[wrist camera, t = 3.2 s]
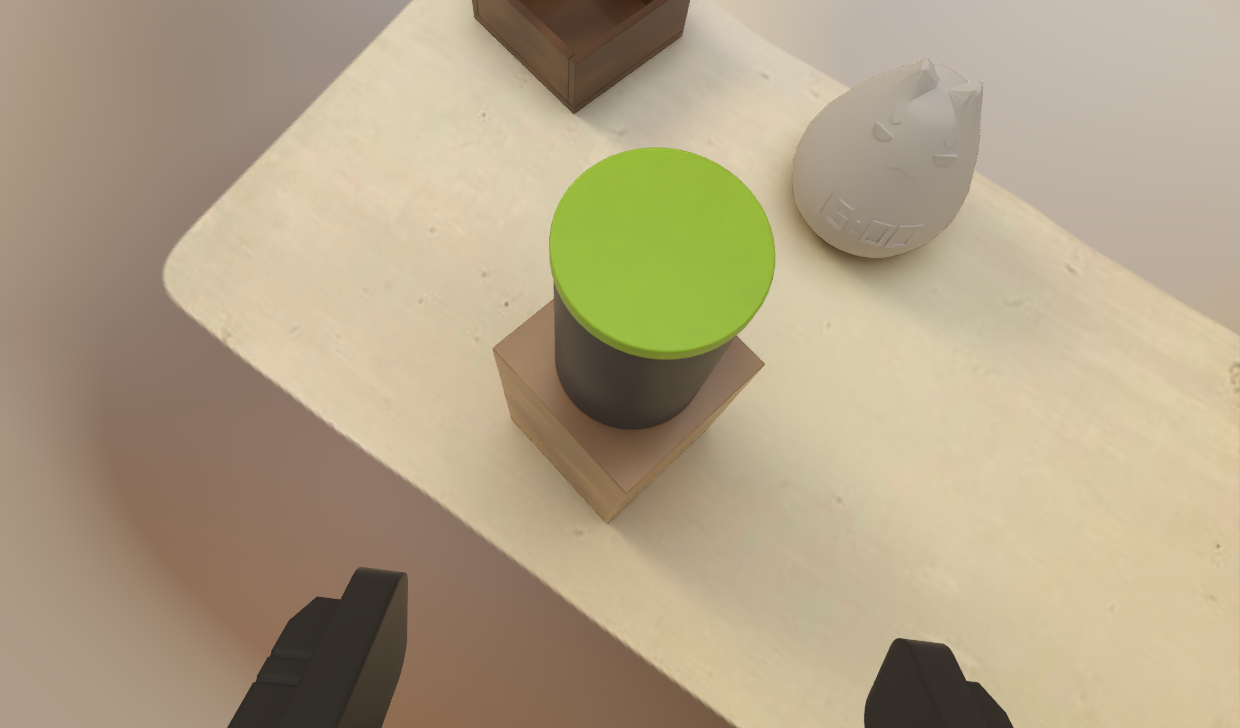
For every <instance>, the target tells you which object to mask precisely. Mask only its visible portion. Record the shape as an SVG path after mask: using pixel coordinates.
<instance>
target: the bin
mask: <svg viewBox="0 0 1240 728" xmlns="http://www.w3.org/2000/svg"><path fill="white" fill-rule="evenodd" d="M689 3H690V0H472V4H473V10H474V17H475V18H476V19H477V20H478V21H479V22H480V23H481V24H482V25H483V26H484V27H485V28H486V29H487V30H488V31H489V32H490V33H491V34H492V35H493V36H494V37H495V38H496V39H497V40H498V41H500V42H501V43H502V44H503V45H504V46H505V47H506V48H507V49H508V50H509V51H510V52H511V53H512V54H513V55H514V56H515V57H516V58H517V59H518V60H519V61H520V62H521V63H522V64H523V65H524V66H525V67H526V68H527V69H528V70H529V71H530V72H531V73H533V74H534V75H535V76H536V77H537V78H538V79H539V80H540V81H541V82H542V83H543V84H544V85H545V86H546V87H547V88H548V89H549V90H550V91H551V92H552V93H553V94H554V95H555V96H556V97H557V98H558V99H559V100H560V101H561V102H562V103H563V104H564V105H566V106H567V107H568V108H569V109H570V110H571V111H572V112H573V113H575V112H577V111H578V110H580V109H581V108H582V107H584V106H585V105H587V104H588V103H589V102H591V101H592V100H594V99H595V98H596V97H598V96H599V95H600V94H602V93H603V92H605V91H606V90H607V89H609V88H610V87H612V86H613V85H614V84H616V83H617V82H618V81H620V80H621V79H623V78H624V77H625V76H627V75H628V74H630V73H631V72H632V71H634V70H635V69H636V68H638V67H639V66H641V65H642V64H643V63H645V62H646V61H648V60H649V59H650V58H652V57H653V56H655V55H656V54H657V53H659V52H660V51H661V50H663V49H664V48H666V47H667V46H668V45H670V44H671V43H673V42H674V41H675V40H677V39H678V38H679V37H681V36H682V34H683V29H684V25H685V21H686V16H687V12H688V7H689Z"/></svg>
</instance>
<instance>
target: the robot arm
mask: <svg viewBox="0 0 1240 728" xmlns="http://www.w3.org/2000/svg"><path fill="white" fill-rule="evenodd" d="M407 599H408V577H407V574H406V573H404V572H396V571H388V570H380V569H373V568H364V567H359V568H358V569H357V570H356V571H355V573H354V574H353V576H352V578H351V580H350V582H349V584H348V586H347V588H346V590H345V592H344V594H343V596H342V598H341V600H340V599H332V598H324V597H316V598H315V599H314V600H313V601H311V602H310V603H309V604H308V605H307V606H306V607H304V608H303V609H302V610H301V611H300V612H299V613H297V614H296V615H295V616H294V617H293V618H291V619H290V620H289V622H288V623H287V625H286V627H285V629H284V630H283V632H282V633H281V635H280V637H279V639H278V640H277V642H276V644H275V646H274V647H273V649H272V651H271V655H270V657H268V658H267V659H266V661H265V663H264V665H263V666H262V668H261V670H260V672H259V674H258V675H257V680H256V682H255V683H253V684H252V686H251V687H250V689H249V691H248V693H247V694H246V696H245V698H244V700H243V701H242V703H241V705H240V706H239V708H238V710H237V712H236V713H235V715H234V717H233V719H232V720H231V722H230V724H229V726H228V728H381V727H382V724H383V722H384V719H385V716H386V713H387V711H388V708H389V705H390V702H391V699H392V697H393V694H394V691H395V688H396V685H397V683H398V680H399V677H400V673H401V670H402V666H403V661H404V656H405V651H406V643H407V602H408V600H407ZM864 724H865V728H1013V726H1012V724H1011V722H1010V720H1009V718H1008V716H1007V714H1006V712H1005V711H1004V710H1003V709H1002V708H1001V707H1000V706H999V705H998V704H997V702H996V701H995V700H994V699H993V698H992V697H991V696H990V695H989V694H988V692H987V691H986V690H985V689H984V688H983V687H982V686H981V685H980V684H979V683H978V682H970V681H966V679H965V677H964V675H963V673H962V671H961V669H960V667H959V665H958V663H957V661H956V659H955V656H954V655H953V653H952V651H951V650H950V648H949V647H948V646H946V645H945V644H940V643H933V642H925V641H917V640H909V639H902V638H898V639H896V640H894V641H893V643H892V644H891V646H890V648H889V651H888V653H887V655H886V657H885V659H884V662H883V664H882V666H881V668H880V671H879V673H878V675H877V677H876V680H875V682H874V684H873V686H872V688H871V691H870V693H869V695H868V698H867V701H866V705H865V713H864Z"/></svg>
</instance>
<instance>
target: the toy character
mask: <svg viewBox="0 0 1240 728" xmlns="http://www.w3.org/2000/svg"><path fill="white" fill-rule="evenodd" d="M982 95H983V82H981V81H969V82H968V81H967V80H966V79H965V78H964V77H963V76H962V75H961V74H959V73H958V72H956V71H955V70H953V69H951V68H949V67H947V66H944V65H941V64H935V63H932V62H931V61H930V60H929V59H926V58H925V59H923V60H921V61H919V62H917V63H915V64H911V65H905V66H901V67H898V68H896V69H893V70H890V71H887V72H885V73H882V74H879V75H877V76H875V77H873V78H871V79H868V80H866V81H864V82H863V83H861V84H859V85H858V86H856V87H855V88H853V89H851V90H850V91H848V92H846V93H845V94H843V95H841V96H840V97H838V98H837V99H835V100H834V101H832V102H830V103H829V104H828V105H827V106H826V107H825V108H824V109H823V110H822V111H821V112H820V113H819V114H818V115H817V116H816V117H815V118H814V119H813V120H812V121H811V122H810V124H809V125H808V127H807V129H806V130H805V132H804V134H803V136H802V138H801V140H800V142H799V144H798V147H797V150H796V153H795V156H794V160H793V178H792V186H793V193H794V199H795V201H796V204H797V207H798V209H799V211H800V213H801V215H802V216H803V218H804V220H805V221H806V223H807V224H808V225H809V226H810V227H811V228H812V230H813V231H814V232H815V233H816V234H817V235H818V236H820V237H821V238H822V239H823V240H825V241H826V242H827V243H829V244H830V245H832V246H834V247H836V248H838V249H840V250H841V251H844V252H847V253H850V254H853V255H856V256H861V257H868V258H886V257H891V256H895V255H900V254H903V253H906V252H909V251H912V250H914V249H916V248H918V247H921V246H923V245H925V244H926V243H928V242H929V241H930V240H932V239H933V238H934V237H936V236H937V235H938V234H939V233H941V232H942V231H943V230H944V229H945V228H946V227H947V226H948V225H949V224H950V223H951V221H952V220H953V219H954V218H955V217H956V215H957V213H958V211H959V210H960V208H961V206H962V204H963V202H964V200H965V198H966V196H967V194H968V192H969V188H970V184H971V180H972V176H973V172H974V168H975V164H976V160H977V155H978V149H979V140H980V120H981V107H982Z"/></svg>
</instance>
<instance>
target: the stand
mask: <svg viewBox="0 0 1240 728" xmlns="http://www.w3.org/2000/svg"><path fill="white" fill-rule="evenodd" d="M493 352H494V356H495V359H496V363H497V367H498V370H499V374H500V378H501V381H502V385H503V389H504V393H505V396H506V400H507V404H508V407H509V411H510V415H511V418H512V420H513V421H514V422H515V423H516V424H517V425H518V426H519V427H520V428H521V430H522V431H523V432H524V433H525V434H526V435H527V436H528V437H529V438H530V440H531V441H532V442H533V443H534V444H535V445H536V446H537V447H538V448H539V449H540V451H541V452H542V453H543V454H544V455H545V456H546V457H547V458H548V459H549V461H550V462H551V463H552V464H553V465H554V466H555V467H556V468H557V469H558V470H559V472H560V473H561V474H562V475H563V476H564V477H565V478H566V479H567V480H568V482H569V483H570V484H571V485H572V486H573V487H574V488H575V489H576V490H577V491H578V493H579V494H580V495H581V496H582V497H583V498H584V499H585V500H586V501H587V503H588V504H589V505H590V506H591V507H592V508H593V509H594V510H595V511H596V513H597V514H598V515H599V516H600V517H601V518H602V519H603V520H604V521H605V522H606V523H608V522H609V521H610V520H611V519H613V518H614V517H615V516H616V515H617V514H618V513H619V512H620V511H621V510H622V509H623V508H624V507H625V506H626V505H627V504H628V503H629V502H631V501H632V500H633V499H634V498H635V497H636V496H637V495H638V494H639V493H640V492H641V491H642V490H643V489H644V488H645V487H646V486H647V485H648V484H650V483H651V482H652V481H653V480H654V479H655V478H656V477H657V476H658V475H659V474H660V473H661V472H662V471H663V470H664V469H665V468H666V467H668V466H669V465H670V464H671V463H672V462H673V461H674V460H675V459H676V458H677V457H678V456H679V455H680V454H681V453H682V452H683V451H684V450H685V449H687V448H688V447H689V446H690V445H691V444H692V443H693V442H694V441H695V440H696V439H697V438H698V437H699V436H700V435H701V434H702V433H703V432H705V431H706V430H707V429H708V428H709V426H710V425H711V424H712V423H713V422H714V421H715V420H716V419H717V418H718V416H719V415H720V414H721V413H722V412H723V411H724V410H725V409H726V407H727V406H728V405H729V404H730V403H731V402H732V401H733V400H734V399H735V397H736V396H737V395H738V394H739V393H740V392H741V391H742V390H743V388H744V387H745V386H746V385H747V384H748V383H749V382H750V381H751V380H752V378H753V377H754V376H755V375H756V374H757V373H758V372H759V371H760V369H761V368H762V367H763V366H764V365H765V364H764V362H763V361H762V360H761V359H759V358H758V357H757V356H756V355H755V354H754V353H753V352H752V351H751V350H750V349H749V348H748V347H747V346H746V345H745V344H744V343H743V342H742V341H741V340H740V339H739V338H738V337H737V336H736V337H735V338H734V340H733V341H732V343H731V344H730V346H729V347H728V348H727V350H726V351H725V353H724V354H723V356H722V357H721V359H720V360H719V362H718V363H717V365H716V366H715V367H714V369H713V370H712V372H711V373H710V375H709V376H708V378H707V379H706V381H705V382H704V384H703V385H702V386H701V388H700V389H699V391H698V392H697V394H696V395H695V397H694V398H693V399H692V401H691V402H690V404H689V405H688V406H687V407H686V408H685V409H684V410H683V411H682V412H680V413H679V414H678V415H677V416H675V417H674V418H672V419H670V420H669V421H667V422H664V423H662V424H660V425H657V426H653V427H650V428H644V429H621V428H615V427H611V426H608V425H605V424H603V423H600V422H598V421H596V420H594V419H592V418H591V417H589V416H588V415H586V414H585V413H583V412H582V411H581V410H580V409H579V408H578V407H577V406H576V405H575V404H574V403H573V402H572V401H571V400H570V398H569V397H568V396H567V394H566V392H565V391H564V389H563V387H562V385H561V383H560V380H559V377H558V374H557V370H556V364H555V330H554V299H553V300H552V301H550V302H549V303H548V304H547V305H546V306H544V307H543V308H542V309H541V310H539V311H538V312H537V313H536V314H534V315H533V316H532V317H531V318H529V319H528V320H527V321H526V322H524V323H523V324H522V325H521V326H520V327H518V328H517V329H516V330H515V331H513V332H512V333H511V334H510V335H508V336H507V337H506V338H505V339H503V340H502V341H501V342H500V343H498V344H497V345H496V346H495V347H493Z"/></svg>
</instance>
